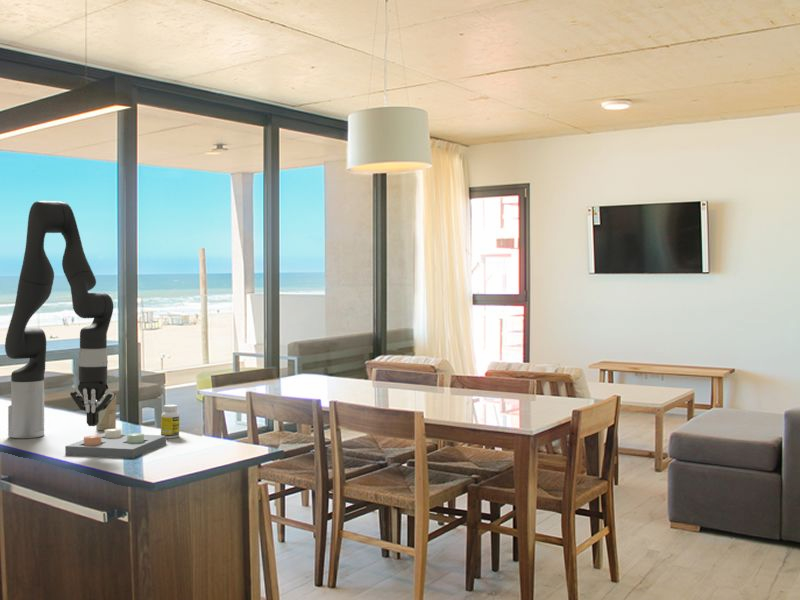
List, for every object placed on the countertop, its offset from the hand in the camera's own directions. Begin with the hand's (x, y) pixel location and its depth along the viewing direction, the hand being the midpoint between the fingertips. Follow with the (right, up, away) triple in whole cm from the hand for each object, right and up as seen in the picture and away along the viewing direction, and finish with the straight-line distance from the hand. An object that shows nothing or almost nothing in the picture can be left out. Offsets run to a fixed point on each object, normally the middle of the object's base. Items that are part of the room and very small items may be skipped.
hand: (92, 425), depth 226 cm
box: (-9, -7, +35) cm, 37 cm away
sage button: (+11, -7, +4) cm, 13 cm away
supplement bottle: (+15, -7, +23) cm, 29 cm away
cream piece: (+2, -7, +11) cm, 13 cm away
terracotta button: (0, -7, 0) cm, 7 cm away
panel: (+5, -7, +5) cm, 10 cm away
